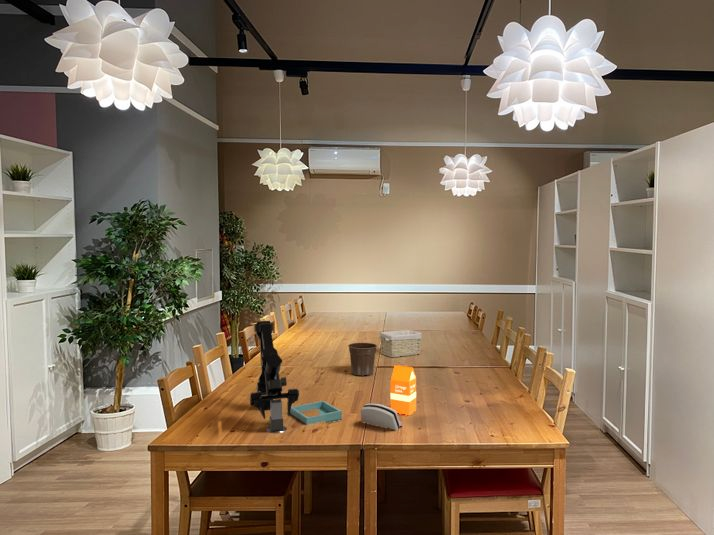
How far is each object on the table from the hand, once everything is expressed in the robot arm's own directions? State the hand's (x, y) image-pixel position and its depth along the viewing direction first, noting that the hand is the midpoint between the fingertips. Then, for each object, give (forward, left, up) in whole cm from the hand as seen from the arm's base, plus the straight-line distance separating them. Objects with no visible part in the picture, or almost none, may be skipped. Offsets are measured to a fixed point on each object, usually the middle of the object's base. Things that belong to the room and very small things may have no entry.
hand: (276, 417), depth 189 cm
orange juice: (+6, +56, -7) cm, 57 cm away
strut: (-1, 0, -5) cm, 5 cm away
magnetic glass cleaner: (+14, +38, -7) cm, 41 cm away
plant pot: (-56, +75, -7) cm, 94 cm away
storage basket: (-83, +122, -7) cm, 148 cm away
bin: (-7, +20, -7) cm, 23 cm away
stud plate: (-1, 0, -7) cm, 7 cm away
